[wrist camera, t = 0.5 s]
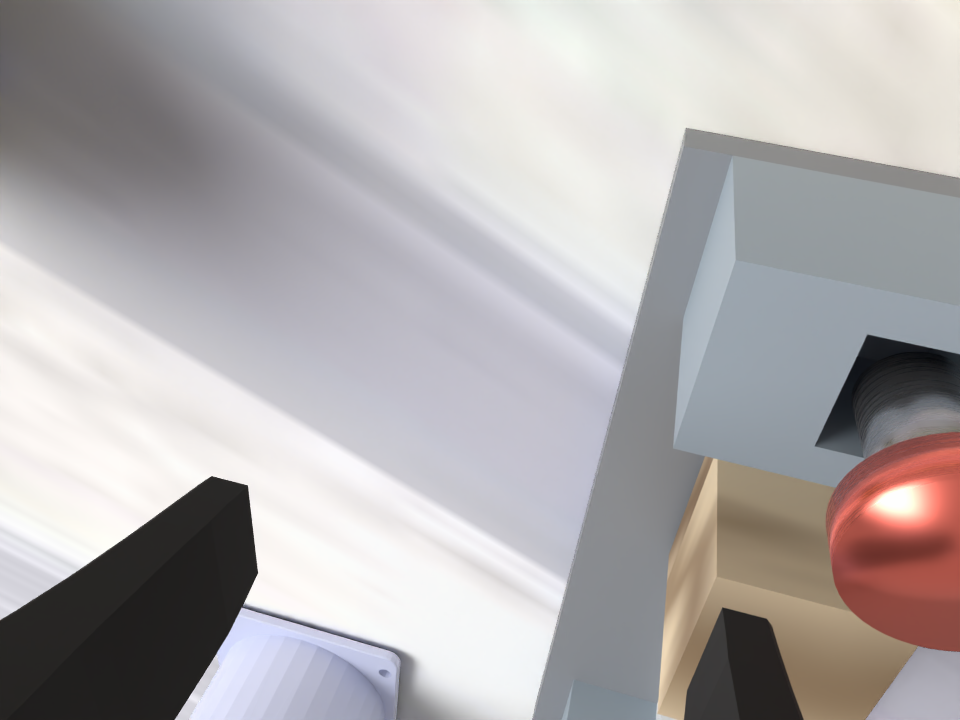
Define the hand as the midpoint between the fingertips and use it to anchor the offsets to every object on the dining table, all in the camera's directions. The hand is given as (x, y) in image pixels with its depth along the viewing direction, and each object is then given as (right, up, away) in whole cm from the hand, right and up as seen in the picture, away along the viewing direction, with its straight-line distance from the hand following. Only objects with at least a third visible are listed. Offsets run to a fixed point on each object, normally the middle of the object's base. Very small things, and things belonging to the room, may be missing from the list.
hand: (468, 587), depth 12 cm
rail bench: (+8, -2, +12) cm, 14 cm away
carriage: (+8, -1, +9) cm, 12 cm away
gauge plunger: (+7, +3, +2) cm, 8 cm away
